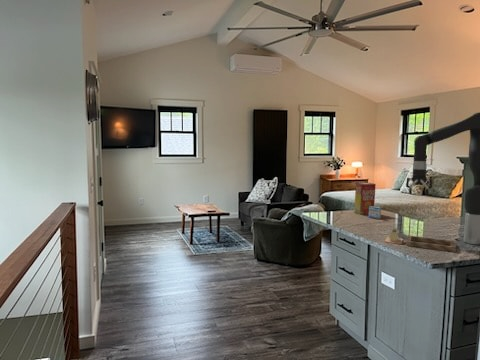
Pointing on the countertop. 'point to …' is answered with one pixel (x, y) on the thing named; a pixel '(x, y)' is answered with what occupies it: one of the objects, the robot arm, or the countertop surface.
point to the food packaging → (364, 197)
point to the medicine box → (375, 212)
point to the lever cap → (394, 235)
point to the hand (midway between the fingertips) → (418, 194)
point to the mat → (393, 241)
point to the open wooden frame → (431, 246)
